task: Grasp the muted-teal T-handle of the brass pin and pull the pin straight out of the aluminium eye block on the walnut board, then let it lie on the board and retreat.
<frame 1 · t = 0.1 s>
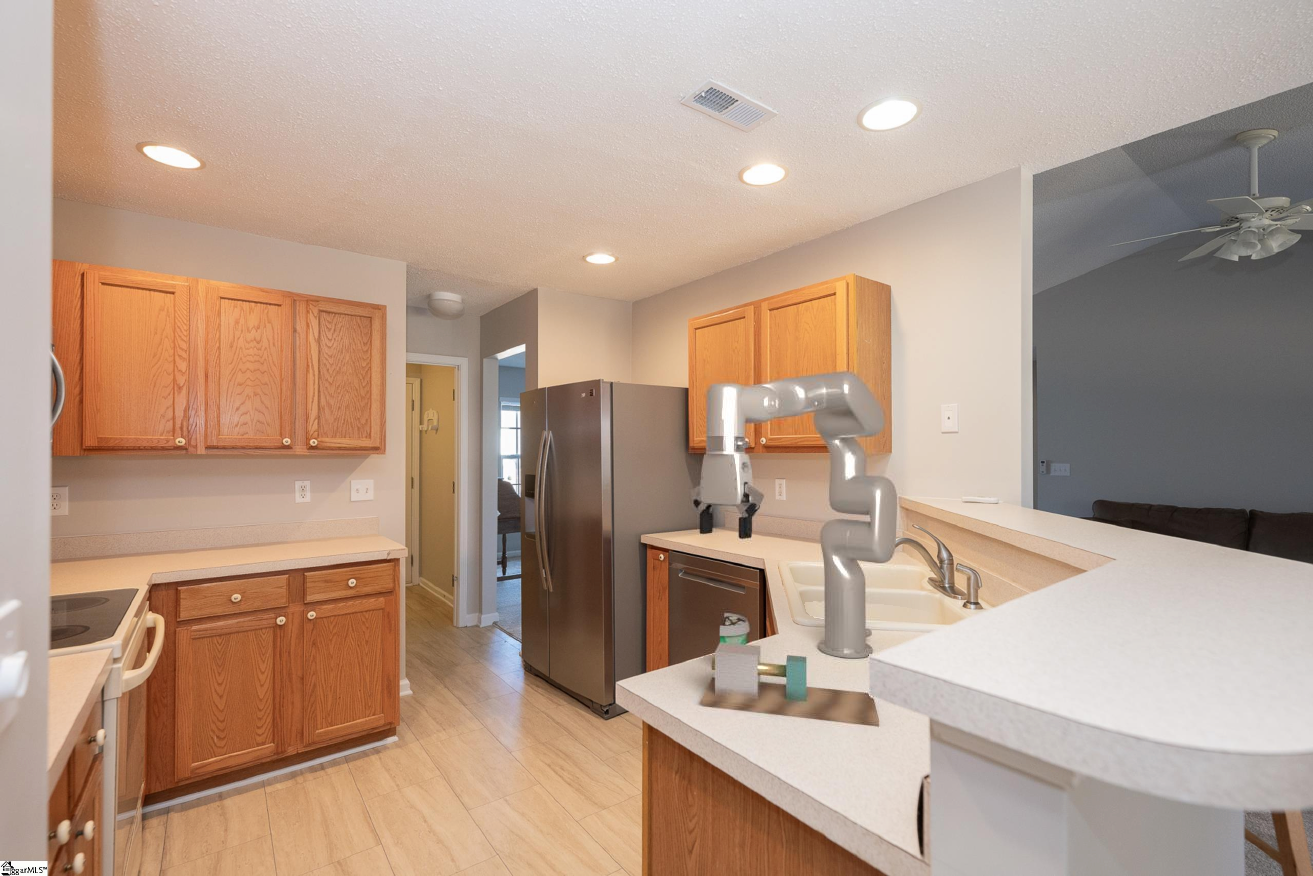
hand: (725, 535, 114), 31 cm above the countertop, fingers open, 9 cm apart
brass pin: (758, 674, 113), on the walnut board, point 5 cm above the countertop, touching eye block
walnut board: (738, 697, 114), on the countertop
food container: (735, 666, 132), on the countertop
eye block: (738, 669, 114), on the walnut board, point 5 cm above the countertop
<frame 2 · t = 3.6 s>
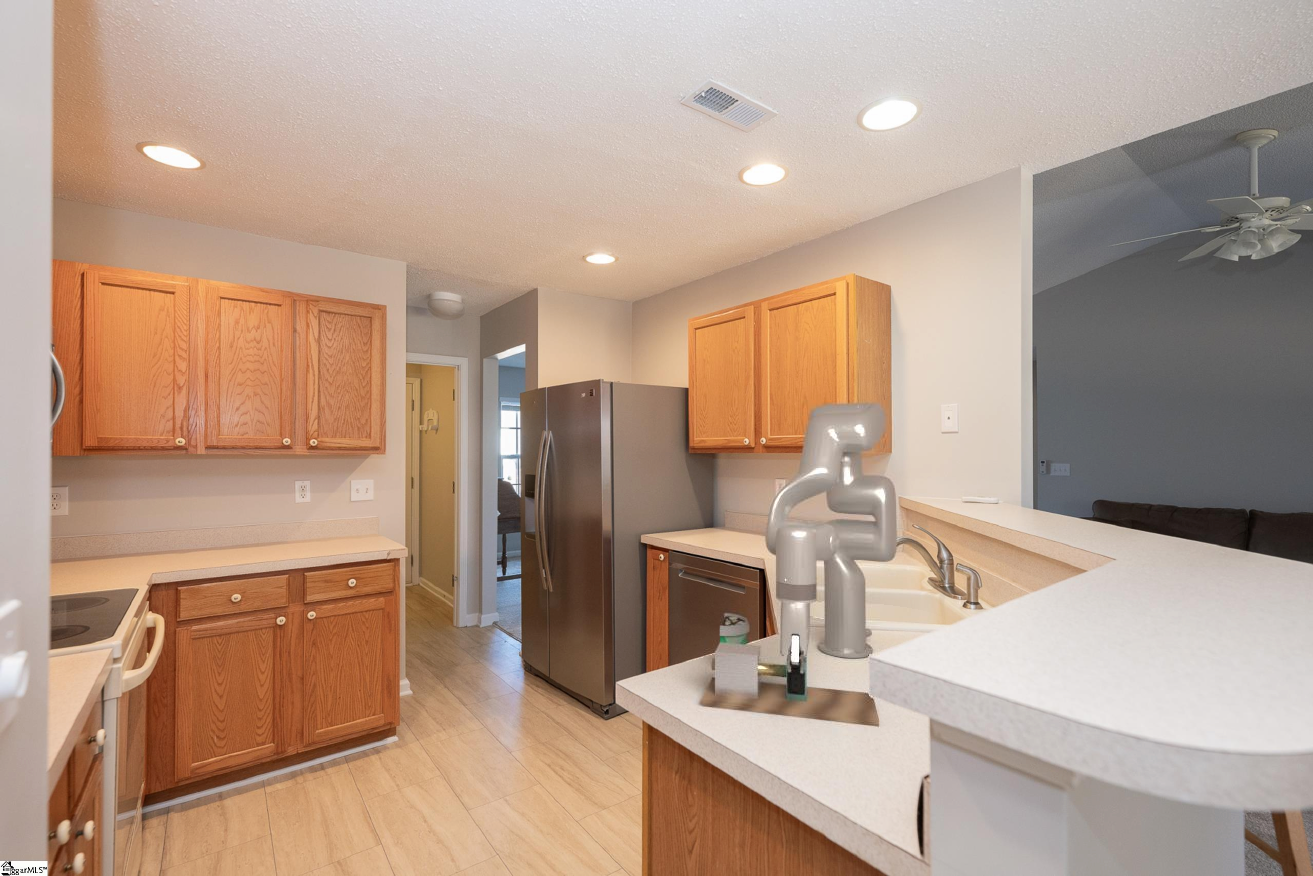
hand: (796, 688, 111), 3 cm above the countertop, fingers closed on brass pin, 3 cm apart
brass pin: (758, 674, 113), on the walnut board, point 5 cm above the countertop, touching gripper
everything else where it was.
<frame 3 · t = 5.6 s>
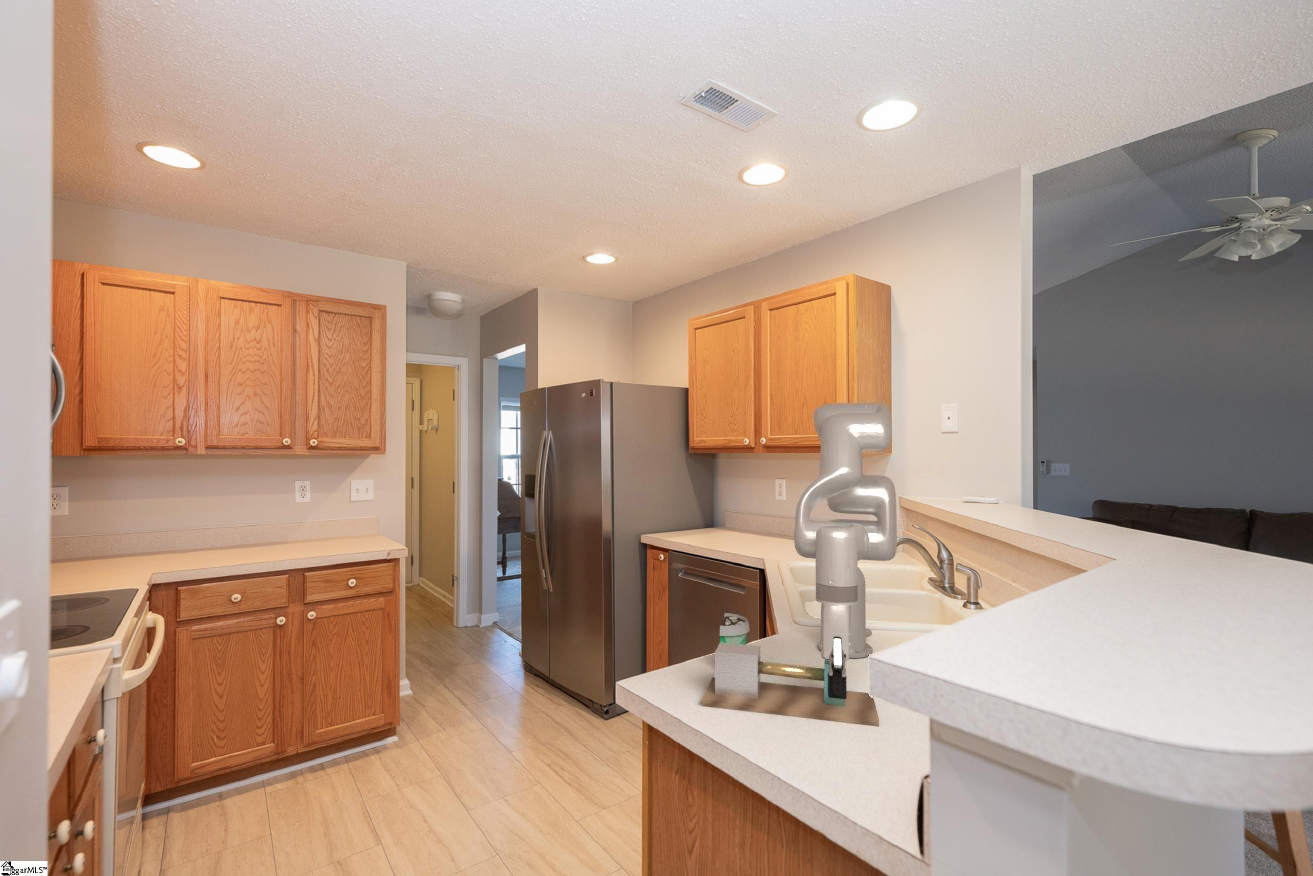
hand: (836, 692, 109), 3 cm above the countertop, fingers closed on brass pin, 3 cm apart
brass pin: (795, 677, 111), point 5 cm above the countertop, touching gripper
everything else where it was.
when the fingers open (3 cm above the countertop, at t = 7.7 s): brass pin drops 2 cm, resting on walnut board.
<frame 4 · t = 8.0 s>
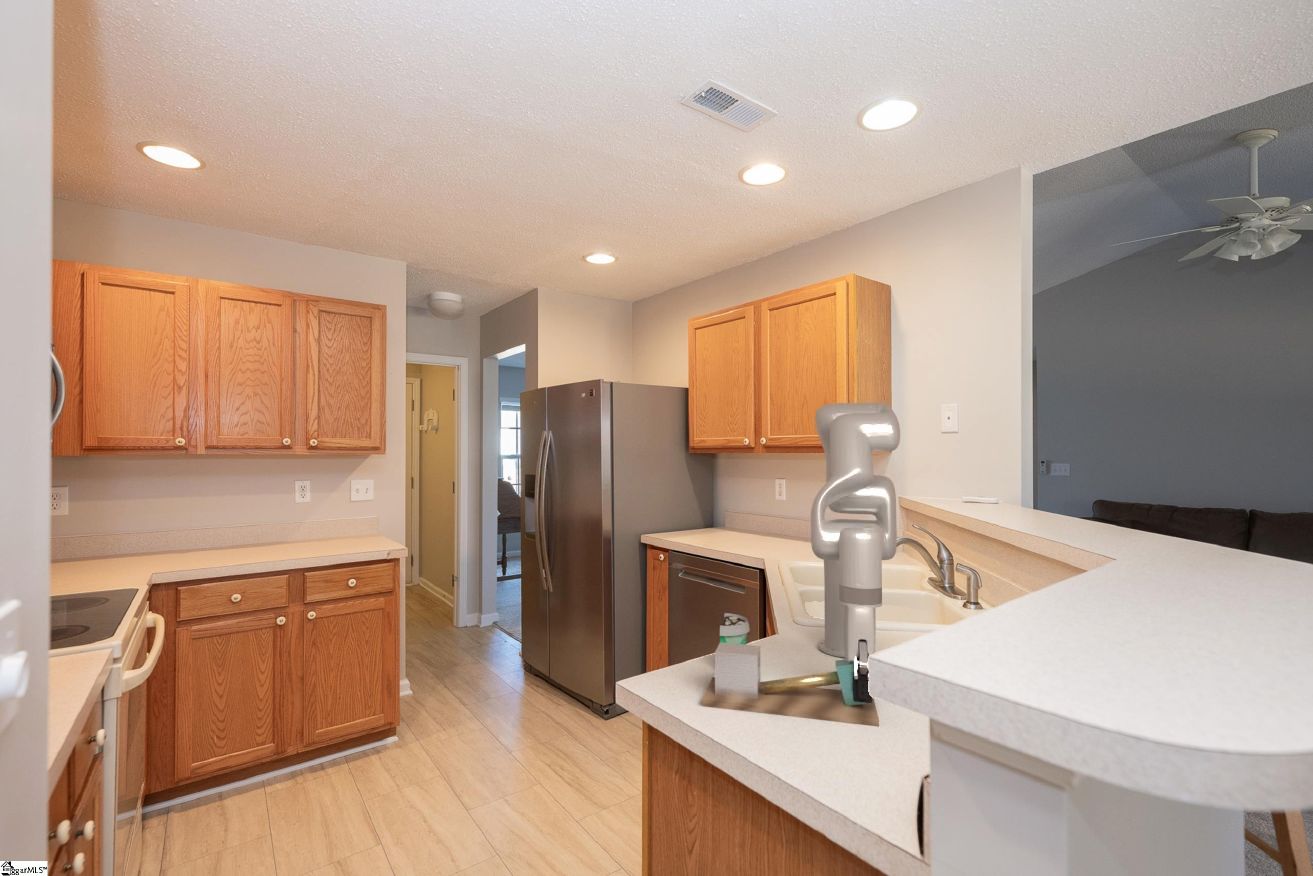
hand: (860, 693, 108), 3 cm above the countertop, fingers open, 6 cm apart
brass pin: (811, 687, 111), resting on walnut board, tilted 14°
everything else where it was.
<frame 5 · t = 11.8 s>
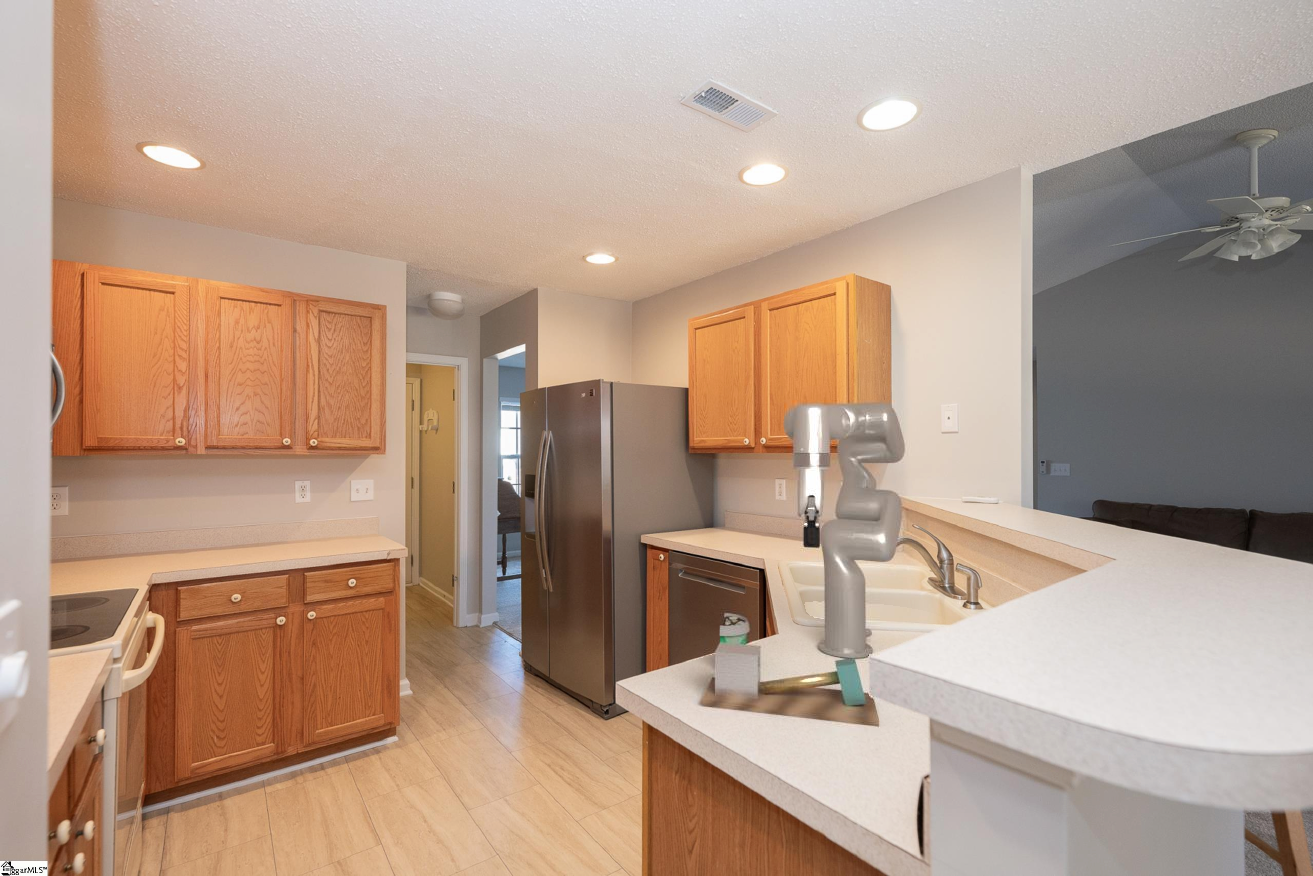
hand: (811, 544, 124), 28 cm above the countertop, fingers open, 9 cm apart
nothing on the countertop moved.
at the end: brass pin moved 11.3 cm from its start; brass pin touching walnut board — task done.
